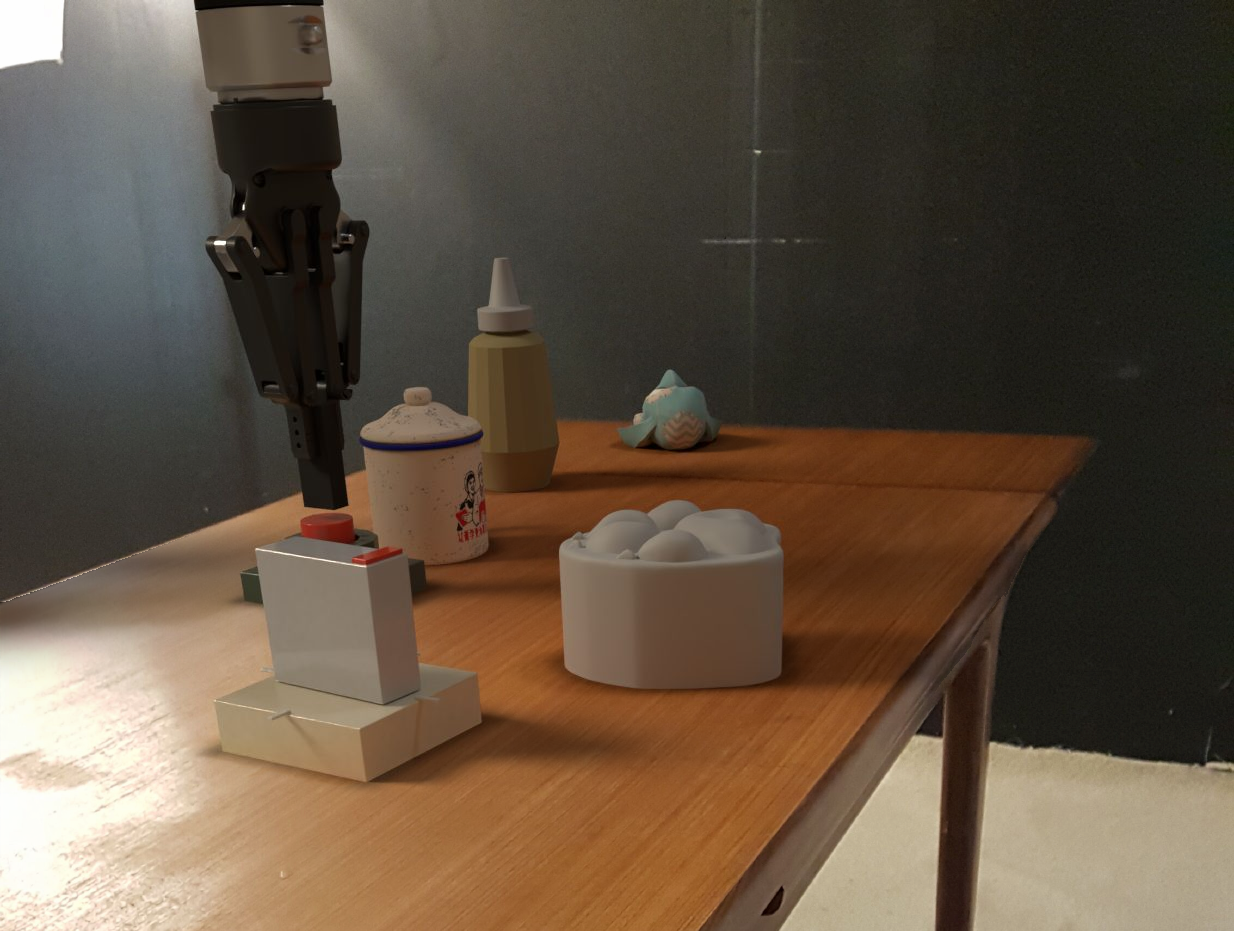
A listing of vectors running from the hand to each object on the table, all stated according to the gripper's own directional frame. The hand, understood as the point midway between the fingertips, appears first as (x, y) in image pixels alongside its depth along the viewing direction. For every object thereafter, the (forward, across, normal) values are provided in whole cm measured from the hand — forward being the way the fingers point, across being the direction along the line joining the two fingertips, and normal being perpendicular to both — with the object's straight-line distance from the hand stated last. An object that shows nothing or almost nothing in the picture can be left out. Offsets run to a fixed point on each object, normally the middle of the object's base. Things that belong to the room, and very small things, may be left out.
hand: (326, 505), depth 107 cm
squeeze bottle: (+6, +35, +9) cm, 37 cm away
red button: (+3, 0, 0) cm, 3 cm away
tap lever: (+3, -22, -20) cm, 30 cm away
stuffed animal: (+6, +57, +6) cm, 58 cm away
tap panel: (+6, -22, -20) cm, 30 cm away
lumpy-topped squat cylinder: (+7, -3, -29) cm, 30 cm away
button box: (+6, 0, 0) cm, 6 cm away
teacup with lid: (+6, +14, +2) cm, 16 cm away
